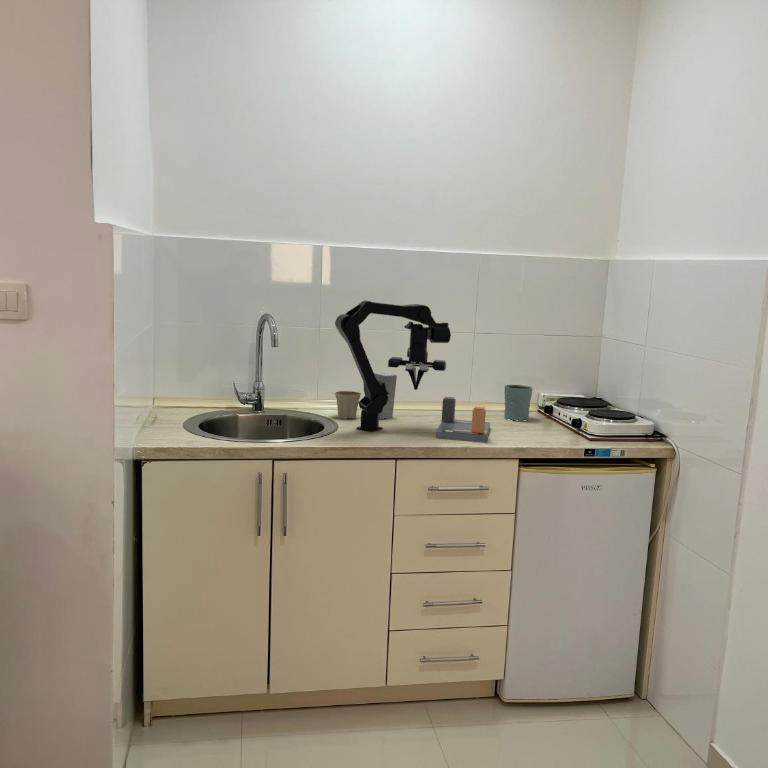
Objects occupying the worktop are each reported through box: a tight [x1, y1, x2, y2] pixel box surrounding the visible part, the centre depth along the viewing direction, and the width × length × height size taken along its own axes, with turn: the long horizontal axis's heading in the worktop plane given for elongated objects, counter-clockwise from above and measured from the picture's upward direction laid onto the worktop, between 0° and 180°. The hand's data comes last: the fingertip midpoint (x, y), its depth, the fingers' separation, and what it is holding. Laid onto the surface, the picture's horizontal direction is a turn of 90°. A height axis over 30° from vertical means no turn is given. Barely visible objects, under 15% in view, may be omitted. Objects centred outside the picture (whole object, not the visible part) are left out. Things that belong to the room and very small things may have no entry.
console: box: [435, 418, 491, 443], centre depth 252 cm, size 16×22×2 cm
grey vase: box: [373, 370, 398, 420], centre depth 270 cm, size 8×7×16 cm
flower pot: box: [334, 390, 362, 420], centre depth 267 cm, size 9×9×9 cm
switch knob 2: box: [471, 406, 487, 433], centre depth 244 cm, size 4×4×8 cm
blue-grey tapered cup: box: [503, 384, 533, 422], centre depth 279 cm, size 10×10×12 cm
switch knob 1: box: [441, 396, 457, 421], centre depth 259 cm, size 4×4×8 cm
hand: (415, 389), depth 254 cm, fingers closed
